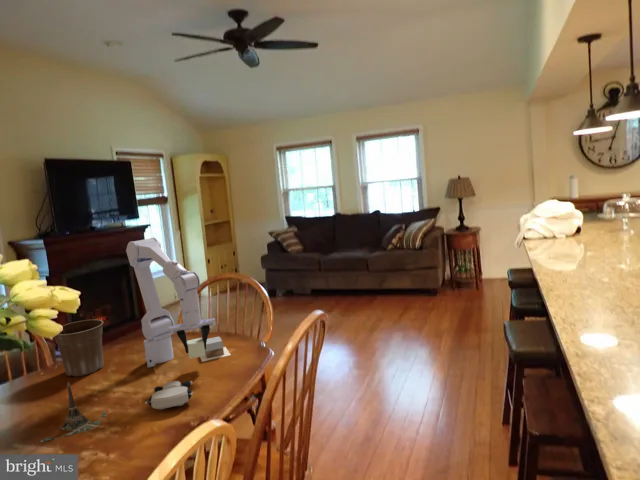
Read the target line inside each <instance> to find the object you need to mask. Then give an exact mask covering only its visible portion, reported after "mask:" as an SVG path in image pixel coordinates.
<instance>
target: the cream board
mask: <svg viewBox="0 0 640 480" xmlns="http://www.w3.org/2000/svg"><path fill="white" fill-rule="evenodd" d="M223 350H224V355H220V356H215V357H211V358H207V357H206V355H204V356H200V357H199V358H200V360H201V362H202V363H204V362H207V361H212V360H217V359H220V358H224V357H228V356H231V355H232V354H231V353H230V351H229V350H228V348H227V347H226V346H223Z"/></svg>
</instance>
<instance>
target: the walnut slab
mask: <svg viewBox="0 0 640 480" xmlns="http://www.w3.org/2000/svg"><path fill="white" fill-rule="evenodd" d="M205 355H206V357H207V358H211V357H215V356H220V355H224V350H223V348H220V349H215V350H211V351H207V352H206V350H205Z"/></svg>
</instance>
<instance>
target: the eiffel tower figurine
mask: <svg viewBox="0 0 640 480" xmlns="http://www.w3.org/2000/svg"><path fill="white" fill-rule="evenodd" d="M66 384H67V385H66V386H67V391H68V393H67V395H68V404H69V405H68V412H67V415H66V416H65V420H64V421H63V424H62V426H61V427H60V430H65V431H69V432H68V433H66V434H64V435H63V436H60V437H50V436H48V437H46V438H43V439H41V440H40V443H43V442H44V443H45V442H47V441H51V440H56V439H60V438H64V437H67V436H72V435H76V434H81V433H84V432H89V431H91V430H93V429H95V428H96V427H98V426H99V425H100V424H102V421H101V420H99V419H101V418H105V417H106V416H107V414H106V413H107V410H105V411H102V413H101V415H100V416H99V419H98V420H94V421H91V420H89V419H88V418H87V417H85V415H83V412H80V411H79V409H78V407H77V404H76V403H75V400H74V397H73V396H74V395H73V392H72V389H71V383H70V382H67V383H66ZM69 422H70V423H69Z"/></svg>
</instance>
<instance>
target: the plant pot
mask: <svg viewBox="0 0 640 480" xmlns="http://www.w3.org/2000/svg"><path fill="white" fill-rule="evenodd" d="M103 325H104V321H103V320H101V319H85V320H79V321H73V322H70V323H66V324H63V325H62V326H63V331H62V332H61V333H60V334H59V335H57V336H55V337H54V340H55V344H57V348H58V350H59V354H60V357H61V361H62V365H63V368H64V371H65V372H64V373H65V375H66V376H67V377H71V376H73V377H81V376H87V375H90V374H93V373H96V372H98V370H100V369H102V368H103V367H104V365H105V363H104V351H103V350H104V349H103V331H104V330H103Z"/></svg>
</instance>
